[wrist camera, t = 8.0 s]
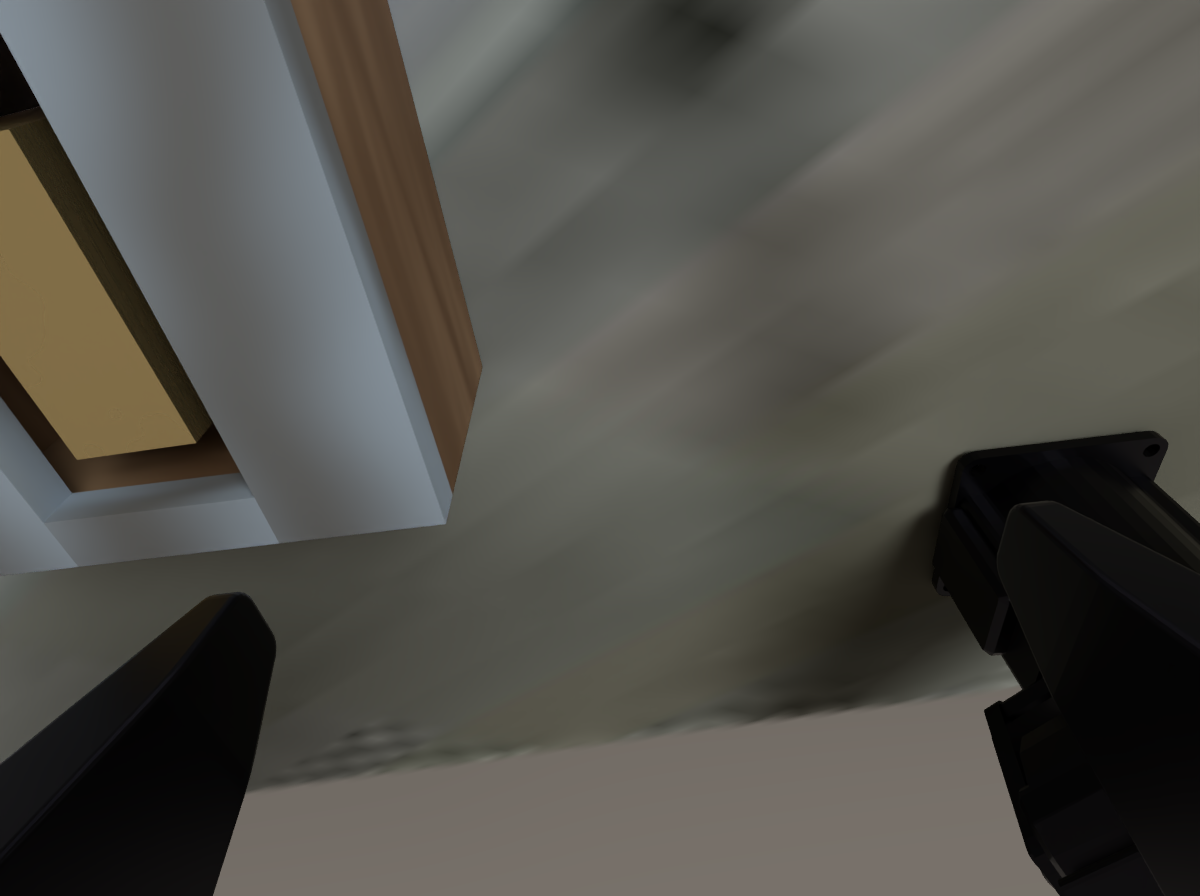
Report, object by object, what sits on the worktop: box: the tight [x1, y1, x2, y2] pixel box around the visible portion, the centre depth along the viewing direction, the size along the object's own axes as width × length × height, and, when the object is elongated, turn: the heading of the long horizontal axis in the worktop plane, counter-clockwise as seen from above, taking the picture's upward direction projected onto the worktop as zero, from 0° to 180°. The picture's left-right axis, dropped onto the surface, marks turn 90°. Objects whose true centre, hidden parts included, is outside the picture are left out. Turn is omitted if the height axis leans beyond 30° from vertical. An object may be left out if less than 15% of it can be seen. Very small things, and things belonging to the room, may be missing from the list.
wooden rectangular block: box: [0, 106, 213, 460], centre depth 15 cm, size 3×6×6 cm, turn 8°
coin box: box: [0, 0, 482, 576], centre depth 15 cm, size 12×11×7 cm
